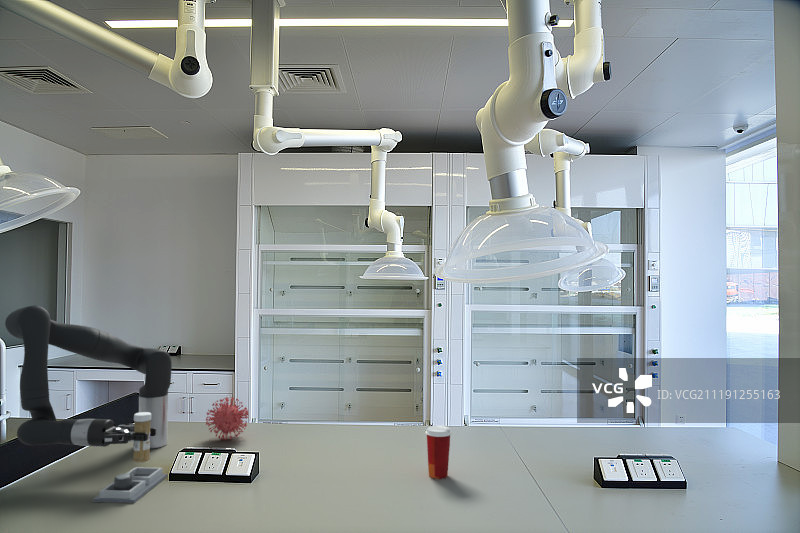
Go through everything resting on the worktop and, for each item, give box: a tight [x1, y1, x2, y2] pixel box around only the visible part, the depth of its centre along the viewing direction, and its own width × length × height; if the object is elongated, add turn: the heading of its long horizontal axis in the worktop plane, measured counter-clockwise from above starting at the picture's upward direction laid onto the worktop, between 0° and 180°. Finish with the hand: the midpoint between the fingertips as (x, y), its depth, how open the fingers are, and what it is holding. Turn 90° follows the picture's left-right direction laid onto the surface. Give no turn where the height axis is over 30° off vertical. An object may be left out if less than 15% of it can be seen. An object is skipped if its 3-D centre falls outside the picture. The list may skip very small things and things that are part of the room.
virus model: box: [205, 396, 250, 440], centre depth 207 cm, size 15×15×15 cm
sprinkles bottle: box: [132, 412, 151, 463], centre depth 164 cm, size 5×5×13 cm
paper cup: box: [424, 425, 452, 480], centre depth 171 cm, size 8×8×14 cm
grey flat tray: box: [92, 466, 168, 504], centre depth 158 cm, size 19×11×5 cm, turn 178°
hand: (151, 434), depth 164 cm, fingers closed on sprinkles bottle, 4 cm apart
